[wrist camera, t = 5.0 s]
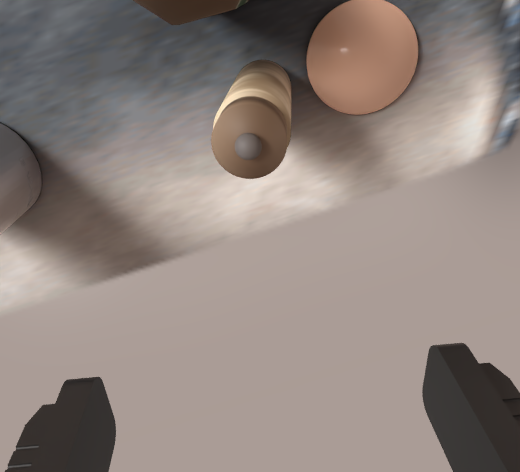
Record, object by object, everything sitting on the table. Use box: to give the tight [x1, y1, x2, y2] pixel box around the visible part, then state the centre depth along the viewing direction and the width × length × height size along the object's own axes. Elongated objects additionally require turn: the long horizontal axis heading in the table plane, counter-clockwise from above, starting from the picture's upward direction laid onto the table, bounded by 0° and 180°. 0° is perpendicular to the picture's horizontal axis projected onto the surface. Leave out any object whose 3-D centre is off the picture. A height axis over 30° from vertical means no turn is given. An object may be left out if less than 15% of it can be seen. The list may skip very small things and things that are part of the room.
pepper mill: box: [211, 60, 291, 179], centre depth 29 cm, size 4×4×14 cm
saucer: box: [306, 0, 418, 115], centre depth 34 cm, size 8×8×1 cm
